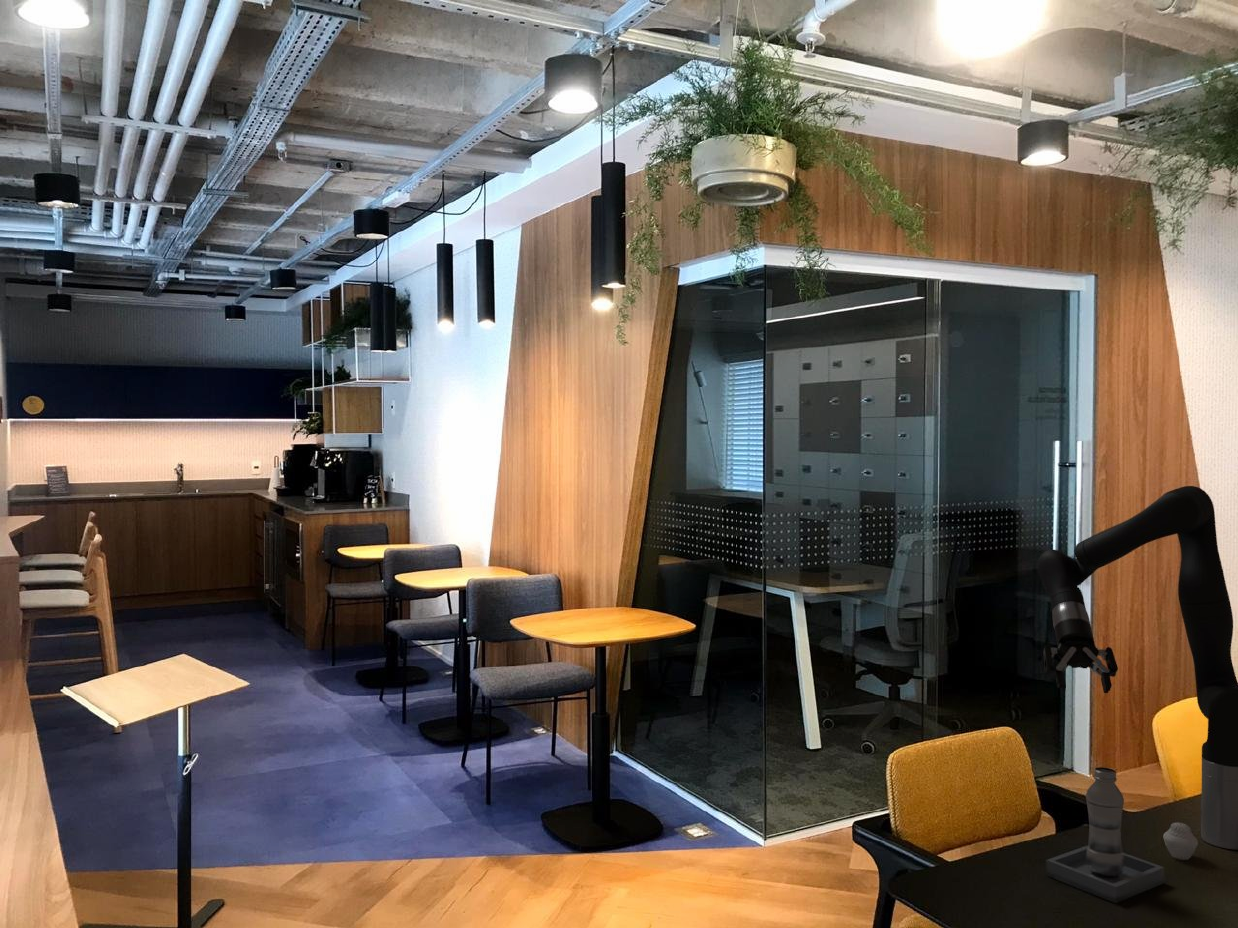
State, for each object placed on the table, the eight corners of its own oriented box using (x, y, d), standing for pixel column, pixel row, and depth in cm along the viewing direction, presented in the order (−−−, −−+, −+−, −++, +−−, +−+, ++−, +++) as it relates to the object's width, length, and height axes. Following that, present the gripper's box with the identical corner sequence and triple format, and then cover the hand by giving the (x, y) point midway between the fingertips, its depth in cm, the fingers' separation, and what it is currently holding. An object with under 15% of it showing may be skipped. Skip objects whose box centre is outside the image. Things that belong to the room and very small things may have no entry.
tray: (1095, 857, 199) (1095, 842, 199) (1164, 882, 187) (1164, 867, 187) (1046, 875, 191) (1046, 859, 191) (1115, 903, 179) (1115, 886, 179)
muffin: (1157, 855, 200) (1157, 821, 200) (1171, 848, 204) (1171, 814, 204) (1189, 865, 195) (1190, 830, 195) (1203, 858, 199) (1203, 823, 199)
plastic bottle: (1129, 882, 185) (1129, 776, 185) (1090, 878, 187) (1091, 774, 186) (1118, 867, 192) (1119, 765, 191) (1081, 864, 193) (1082, 763, 193)
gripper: (1041, 615, 219) (1052, 678, 208) (1110, 618, 216) (1125, 682, 205) (1035, 635, 224) (1046, 697, 213) (1103, 637, 221) (1117, 701, 210)
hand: (1085, 690), depth 209 cm, fingers open, 8 cm apart
